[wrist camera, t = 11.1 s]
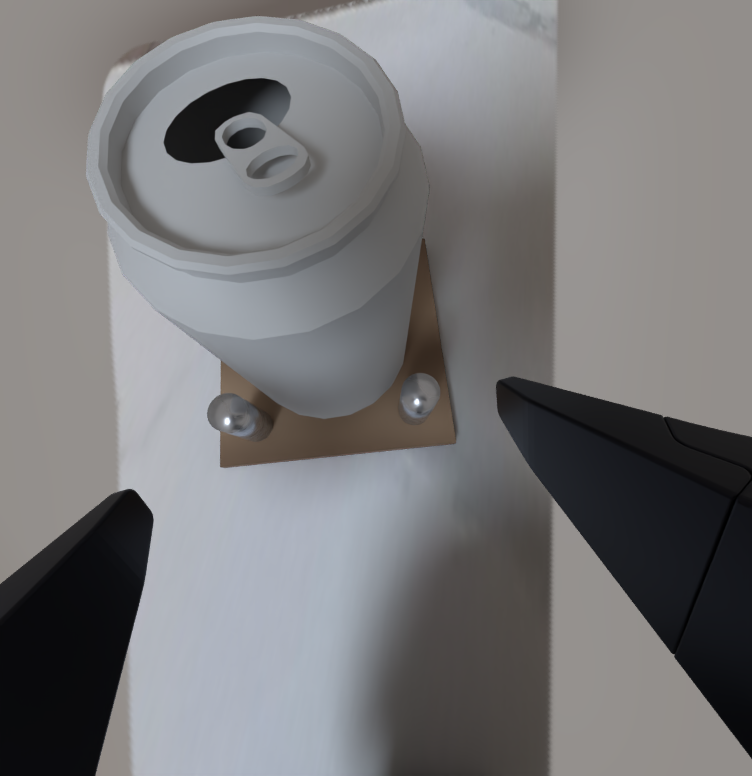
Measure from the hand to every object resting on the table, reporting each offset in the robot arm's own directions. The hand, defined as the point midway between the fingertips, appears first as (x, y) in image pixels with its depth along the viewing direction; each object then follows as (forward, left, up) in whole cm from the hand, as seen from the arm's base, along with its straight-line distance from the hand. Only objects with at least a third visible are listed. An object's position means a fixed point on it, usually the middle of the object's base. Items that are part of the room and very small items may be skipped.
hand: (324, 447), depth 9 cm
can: (+6, +1, -9) cm, 10 cm away
